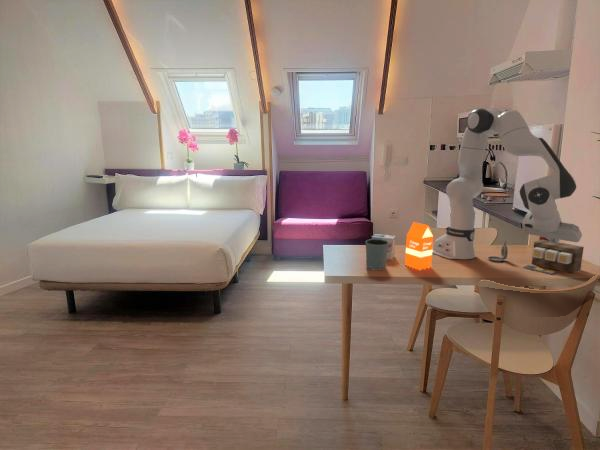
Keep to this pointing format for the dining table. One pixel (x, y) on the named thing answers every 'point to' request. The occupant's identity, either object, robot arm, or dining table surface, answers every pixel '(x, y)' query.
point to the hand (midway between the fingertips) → (554, 241)
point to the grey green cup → (376, 253)
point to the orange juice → (419, 246)
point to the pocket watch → (503, 254)
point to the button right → (565, 257)
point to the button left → (539, 252)
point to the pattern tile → (540, 269)
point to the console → (569, 267)
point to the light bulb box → (390, 243)
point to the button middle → (552, 254)
